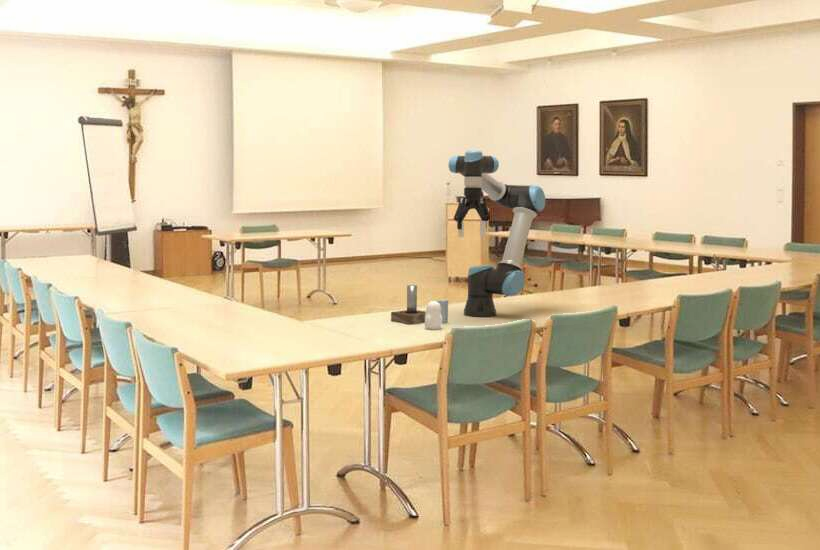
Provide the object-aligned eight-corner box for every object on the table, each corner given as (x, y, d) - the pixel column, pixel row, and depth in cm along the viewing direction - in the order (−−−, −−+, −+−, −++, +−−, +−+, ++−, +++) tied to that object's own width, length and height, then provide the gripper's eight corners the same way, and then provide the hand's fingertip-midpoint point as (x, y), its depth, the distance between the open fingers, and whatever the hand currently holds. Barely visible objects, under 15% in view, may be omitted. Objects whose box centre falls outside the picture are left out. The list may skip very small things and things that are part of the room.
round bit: (411, 320, 401) (412, 284, 400) (418, 321, 398) (419, 285, 396) (404, 321, 398) (405, 285, 397) (411, 322, 395) (411, 286, 393)
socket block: (412, 318, 407) (412, 309, 407) (432, 321, 398) (432, 312, 397) (391, 320, 399) (391, 312, 398) (410, 324, 389) (410, 315, 389)
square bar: (439, 321, 398) (440, 299, 397) (447, 322, 396) (448, 300, 395) (435, 323, 395) (436, 300, 394) (443, 323, 393) (444, 301, 392)
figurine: (427, 330, 376) (427, 302, 375) (422, 327, 383) (422, 299, 382) (443, 329, 378) (444, 301, 376) (438, 326, 385) (438, 299, 384)
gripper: (486, 186, 394) (485, 234, 396) (445, 186, 377) (445, 237, 380) (499, 187, 388) (498, 235, 391) (458, 187, 372) (457, 238, 374)
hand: (471, 236), depth 385 cm, fingers open, 13 cm apart
